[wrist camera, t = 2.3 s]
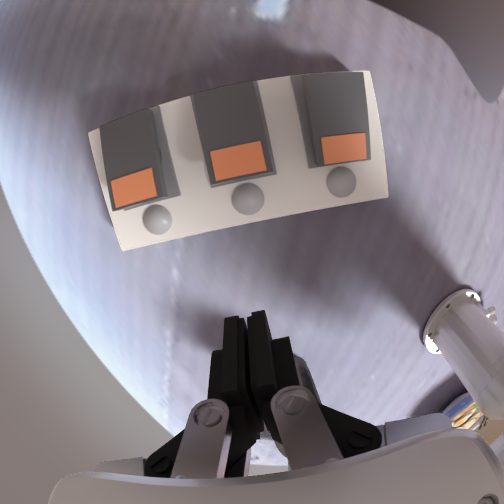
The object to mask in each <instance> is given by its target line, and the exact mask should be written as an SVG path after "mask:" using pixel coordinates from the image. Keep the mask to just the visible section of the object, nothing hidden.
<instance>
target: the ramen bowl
mask: <svg viewBox="0 0 504 504" xmlns="http://www.w3.org/2000/svg"><path fill="white" fill-rule="evenodd" d="M442 414H445V415H446V416H447V417H449V419H450V421H451V423H452V427H453V429H469V430H472V431H473V430H474V429H475V428H477V427H478V426H479V425H480V424H481V425H480V428H479V429H482V426H483V423H484V421H485V419H486V421H485V424H484V426H486V425H487V422H488V417H486V416H484V415H483V414H482V413H481V411H480V410H479V408H478V407H477V405H476V404H475V402H474V400H473V399H472V397H471V396H470V394H469V393H468V392H467V393H465V394H462V395H460V396H458V397H457V398H455V399H454V400H453V401H452V402H451V403H450V404H449V405H448V406H447V407H446V409H445V410H444V411H443V412H442Z"/></svg>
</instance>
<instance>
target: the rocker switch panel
mask: <svg viewBox="0 0 504 504" xmlns="http://www.w3.org/2000/svg"><path fill="white" fill-rule="evenodd" d="M341 72H363V75H364V82H365V90H366V99H367V108H368V119H369V132H370V148H371V160H366V161H358V162H350V163H343V164H336V165H329V166H323V167H318V166H317V165H316V164H315V160H314V151H313V144H312V136H311V129H310V125H309V121H308V109H307V103H306V97H305V91H304V85H303V79H302V75H310V74H301V75H292V76H284V77H277V78H270V79H264V80H258V81H253V85H254V89H255V93H256V97H257V101H258V105H259V109H260V114H261V118H262V122H263V127H264V131H265V135H266V140H267V144H268V149H269V153H270V158H271V163H272V167H273V173H270V174H265V175H260V176H255V177H250V178H245V179H240V180H236V181H231V182H226V183H222V184H218V185H211V184H210V180H209V175H208V170H207V165H206V160H205V155H204V150H203V145H202V140H201V135H200V130H199V125H198V119H197V114H196V109H195V103H194V98H193V95H191V96H187V97H183V98H180V99H177V100H173V101H170V102H167V103H164V104H161V105H157V106H154V107H152V108H149V109H150V110H152V111H153V116H154V123H155V129H156V135H157V141H158V146H159V148H160V150H161V155H162V160H161V164H162V169H163V174H164V180H165V185H166V190H167V194H168V197H165V198H161V199H158V200H154V201H150V202H147V203H143V204H140V205H136V206H133V207H129V208H126V209H123V210H119V211H113V212H112V207H111V202H110V197H109V192H108V186H107V180H106V174H105V168H104V161H103V154H102V147H101V138H100V129H99V128H97V129H95V130H93V131H91V132H89V133H88V135H89V140H90V144H91V149H92V153H93V157H94V161H95V165H96V169H97V173H98V177H99V180H100V184H101V187H102V191H103V194H104V198H105V201H106V204H107V208H108V211H109V214H110V217H111V220H112V223H113V226H114V229H115V232H116V235H117V238H118V241H119V244H120V247H121V249H122V251H126V250H130V249H134V248H139V247H143V246H147V245H151V244H156V243H160V242H164V241H169V240H173V239H178V238H182V237H187V236H191V235H196V234H200V233H205V232H209V231H214V230H219V229H224V228H228V227H233V226H238V225H243V224H248V223H252V222H257V221H262V220H267V219H272V218H278V217H283V216H288V215H293V214H298V213H303V212H309V211H314V210H320V209H325V208H330V207H336V206H342V205H347V204H353V203H359V202H365V201H370V200H376V199H382V198H388V184H387V173H386V163H385V154H384V147H383V139H382V132H381V126H380V120H379V114H378V109H377V103H376V98H375V93H374V88H373V84H372V79H371V75H370V71H341ZM324 73H337V72H324ZM311 74H321V73H311Z"/></svg>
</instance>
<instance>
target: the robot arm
mask: <svg viewBox="0 0 504 504" xmlns="http://www.w3.org/2000/svg"><path fill="white" fill-rule="evenodd" d="M495 311H496V310H495V307H493V306H492V307H490V308H488V309H487V310H486V309H484V308H483V307H482V306H481V300H480V297H479V295H478V294H477V293H476V292H475V291H473V290H471V289H461V290H458V291H456V292H454V293H452V294H451V295H449V296H448V297H447V298H445V299H444V300H443V301H442V302H441V303H440V304H439V305H438V306H437V308H436V309H435V310H434V312H433V313H432V314H431V316H430V318H429V320H428V321H427V324H426V326H425V329H424V333H423V343H424V345H425V347H426V348H427V350H428V351H429V352H431V353H434V354H441V353H442V355H443V356H444V358H445V359H446V360H447V362H448V363H449V365H450V366H451V367H452V369H453V370H454V372H455V373H456V375H457V376H458V378H459V379H460V381H461V382H462V383H463V385H464V387H465V388H466V390H467V391H468V393H469V394H470V396H471V397H472V399H473V400H474V402H475V404H476V405H477V407H478V408H479V410H480V411H481V413H482V414H483V415H484V416H486V417H488V418H491V419H497V420H504V333H503V332H502V331H501V330H500V329H499V328H498V327H497V326H496V325H495V324H496V323H497V317H496V316H495V315H494V314H495ZM247 325H248V330H247V326H246V323H245V320H244V318H240V319H239V316H238V315H237V316H232V317H227V318H225V320H224V336H223V349H222V350H216V351H213V352H212V356H211V366H210V376H209V387H208V398H207V399H206V400H204V401H201V402H199V403H198V404H196V405H195V406H194V407H193V408H192V410H191V412H190V414H189V417H188V421H187V424H186V427H185V429H184V430H183V431H181V432H180V433H179V434H178V435H176V436H175V437H174V438H173V439H171V440H170V441H169V442H167V443H166V444H165V445H163V446H162V447H161V448H159V449H158V450H157V451H155V452H154V453H153V454H152V455H150V456H149V457H148V458H146V459H145V458H143V457H138V458H131V459H122V460H114V461H104V462H100V463H99V464H98V465H96V467H95V468H94V470H93V472H82V473H76V474H72V475H68V476H66V477H64V478H62V479H61V480H59V481H58V483H57V484H56V486H55V487H54V489H53V491H52V493H51V496H50V498H49V501H48V504H504V431H503V433H502V434H501V435H500V436H499V437H498V438H496V439H495V440H494V441H493V442H492V443H491V444H490V445H489V444H488V443H487V442H486V441H485V439H484V438H483V437H482V436H481V435H479V434H478V433H476V432H475V431H472V430H469V429H453V427H452V423H451V421H450V419H449V417H447V416H446V415H445V414H442V413H431V414H427V415H423V416H418V417H413V418H408V419H403V420H397V421H391V422H385V425H379V426H374V425H372V424H370V423H368V422H365V421H362V420H359V419H357V418H354V417H352V416H349V415H346V414H344V413H341V412H339V411H336V410H334V409H332V408H329V407H327V406H324V405H322V404H320V403H317V401H316V399H315V397H314V395H313V394H312V392H311V391H310V390H309V389H307V388H306V387H302V386H300V384H299V379H298V375H297V370H296V366H295V361H294V357H293V353H292V348H291V344H290V339H289V336H288V337H284V338H279V339H274V340H272V337H271V333H270V329H269V325H268V321H267V317H266V313H265V310H261V311H257V312H252V316H250V317H247ZM263 420H264V421H263ZM264 422H265V425H266V427H267V429H268V431H270V433H271V436H272V438H273V440H275V441H276V442H278V443H280V444H282V445H283V446H284V449H285V452H286V455H287V458H288V461H289V464H290V467H291V470H292V471H287V472H280V473H273V474H265V475H257V476H248V471H249V464H250V457H251V447H252V446H253V445H254V444H255V443H256V440H257V439H260V432H263V431H264Z"/></svg>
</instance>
